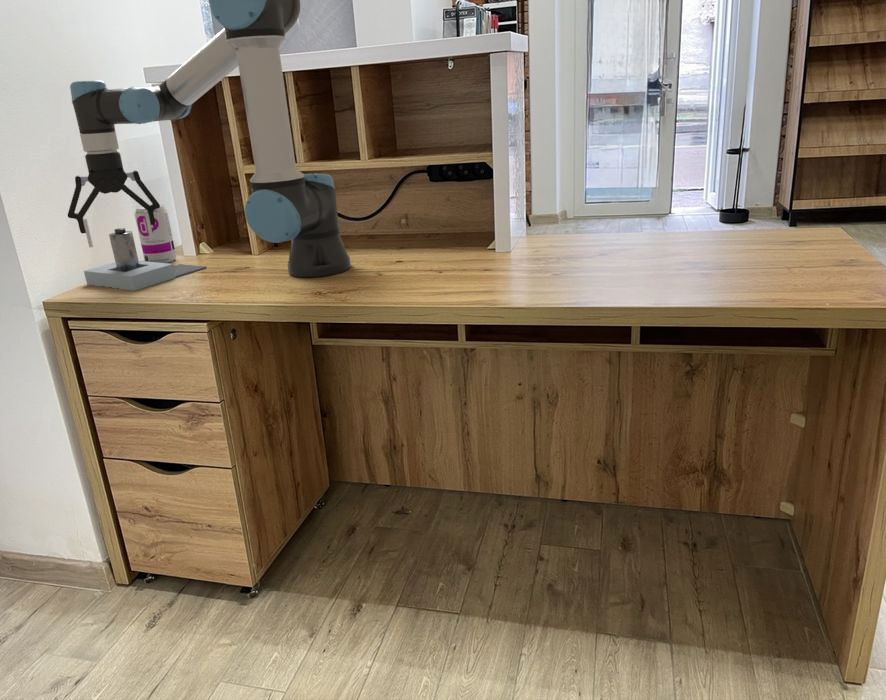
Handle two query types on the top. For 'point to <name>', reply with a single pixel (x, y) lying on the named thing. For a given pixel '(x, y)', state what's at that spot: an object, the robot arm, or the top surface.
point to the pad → (186, 269)
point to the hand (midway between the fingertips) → (121, 242)
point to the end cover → (124, 250)
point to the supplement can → (156, 236)
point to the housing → (130, 275)
